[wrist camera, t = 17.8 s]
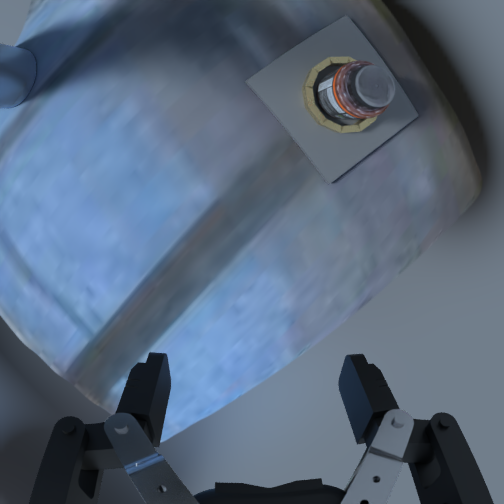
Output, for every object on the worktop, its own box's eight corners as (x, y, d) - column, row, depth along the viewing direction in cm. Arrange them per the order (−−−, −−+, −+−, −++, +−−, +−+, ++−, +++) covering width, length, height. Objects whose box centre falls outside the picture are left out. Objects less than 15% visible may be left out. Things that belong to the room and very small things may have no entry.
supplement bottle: (355, 69, 32) (397, 52, 21) (366, 115, 34) (412, 114, 24) (309, 76, 32) (338, 57, 22) (322, 123, 35) (355, 123, 24)
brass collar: (287, 86, 33) (289, 83, 31) (344, 47, 31) (350, 43, 29) (334, 146, 36) (339, 147, 34) (387, 106, 34) (395, 106, 32)
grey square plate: (245, 82, 33) (245, 81, 32) (344, 17, 30) (346, 14, 29) (326, 183, 38) (328, 184, 37) (415, 115, 35) (418, 115, 34)
